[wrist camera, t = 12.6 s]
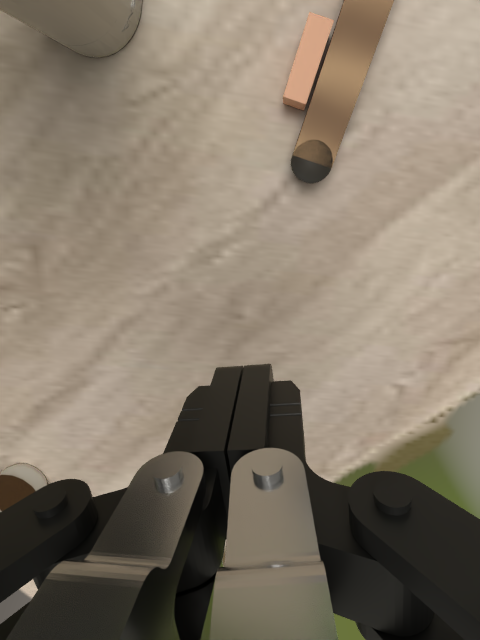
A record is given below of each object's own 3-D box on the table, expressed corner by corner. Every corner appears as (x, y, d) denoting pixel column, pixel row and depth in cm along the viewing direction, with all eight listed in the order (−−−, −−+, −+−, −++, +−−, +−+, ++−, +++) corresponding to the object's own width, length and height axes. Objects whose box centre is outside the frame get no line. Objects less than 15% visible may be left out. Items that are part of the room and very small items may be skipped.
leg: (395, -153, 29) (410, -198, 26) (439, -137, 30) (461, -181, 26) (285, 174, 38) (286, 175, 35) (319, 186, 38) (323, 188, 35)
